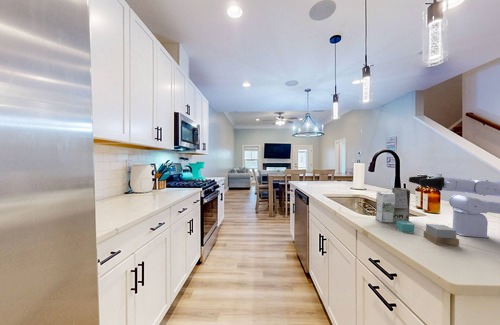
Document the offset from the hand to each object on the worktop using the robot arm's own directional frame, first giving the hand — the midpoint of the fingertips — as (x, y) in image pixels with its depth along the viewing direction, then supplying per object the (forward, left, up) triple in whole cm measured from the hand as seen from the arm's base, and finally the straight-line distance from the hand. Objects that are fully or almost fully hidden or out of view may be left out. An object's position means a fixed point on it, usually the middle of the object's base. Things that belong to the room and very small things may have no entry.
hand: (414, 180), depth 88 cm
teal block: (+4, +2, -22) cm, 22 cm away
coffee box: (0, -12, -22) cm, 25 cm away
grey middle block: (-3, +12, -19) cm, 23 cm away
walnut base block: (-3, +12, -22) cm, 25 cm away
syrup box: (+7, -10, -22) cm, 25 cm away
